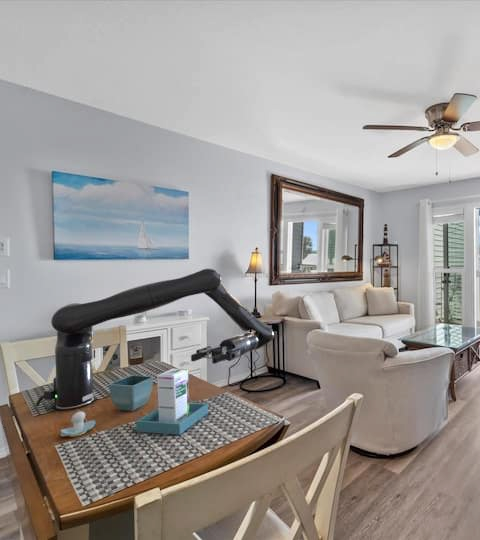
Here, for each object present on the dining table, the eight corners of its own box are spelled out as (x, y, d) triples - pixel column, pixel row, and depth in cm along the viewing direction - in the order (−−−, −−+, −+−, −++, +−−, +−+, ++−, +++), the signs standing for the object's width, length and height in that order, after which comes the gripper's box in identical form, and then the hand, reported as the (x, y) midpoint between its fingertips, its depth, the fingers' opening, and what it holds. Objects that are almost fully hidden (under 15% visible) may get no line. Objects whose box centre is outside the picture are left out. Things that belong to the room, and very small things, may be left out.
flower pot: (155, 402, 111) (154, 376, 111) (133, 414, 102) (132, 385, 102) (131, 401, 112) (131, 374, 112) (108, 412, 104) (107, 384, 103)
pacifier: (56, 436, 90) (64, 442, 87) (55, 413, 90) (63, 418, 87) (89, 425, 96) (98, 430, 93) (88, 403, 96) (97, 408, 93)
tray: (135, 431, 92) (135, 421, 92) (169, 410, 105) (169, 401, 105) (179, 434, 90) (179, 424, 90) (208, 412, 103) (208, 403, 103)
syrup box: (175, 426, 94) (174, 375, 94) (157, 424, 95) (156, 373, 95) (189, 416, 100) (189, 368, 99) (172, 415, 101) (171, 367, 101)
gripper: (219, 335, 125) (184, 346, 110) (251, 338, 121) (220, 349, 106) (219, 355, 126) (185, 369, 110) (252, 358, 121) (220, 372, 106)
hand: (202, 359), depth 108 cm, fingers open, 8 cm apart
